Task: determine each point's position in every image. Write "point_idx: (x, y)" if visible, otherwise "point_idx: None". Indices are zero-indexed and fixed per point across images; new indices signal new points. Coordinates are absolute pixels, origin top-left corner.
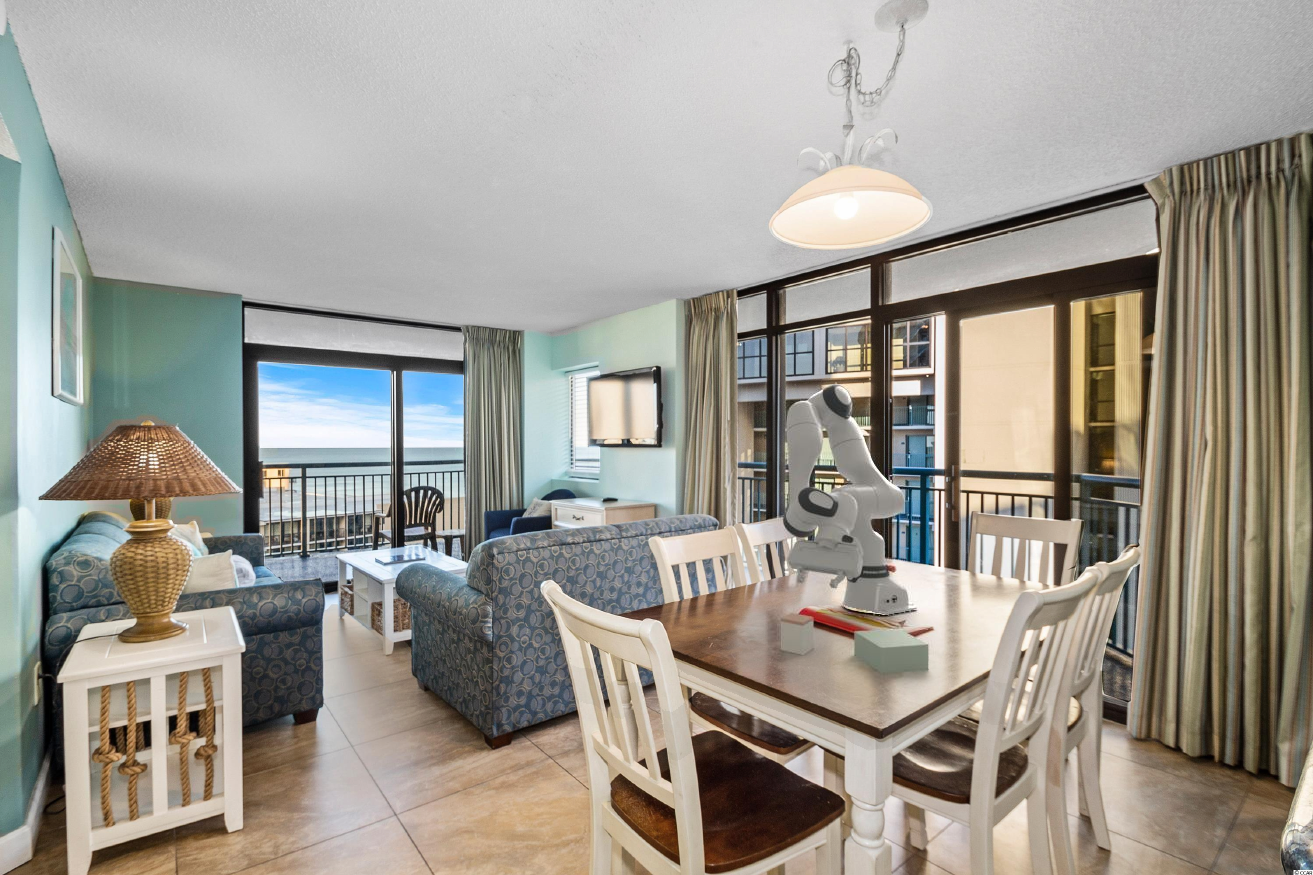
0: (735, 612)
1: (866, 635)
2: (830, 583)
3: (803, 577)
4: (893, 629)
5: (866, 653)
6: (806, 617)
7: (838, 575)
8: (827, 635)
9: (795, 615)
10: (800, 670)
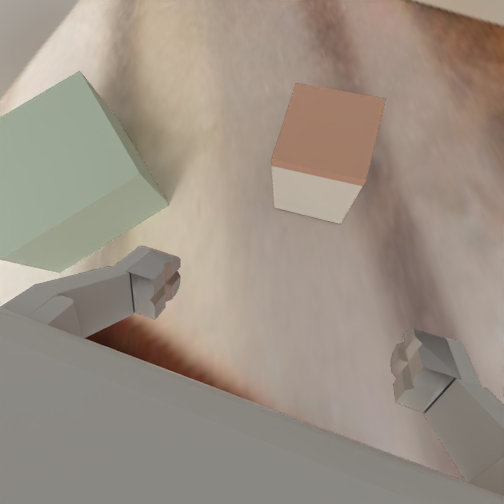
0: None
1: (107, 150)
2: (170, 255)
3: (410, 381)
4: (18, 242)
5: (131, 147)
6: (295, 143)
7: (74, 285)
8: (250, 352)
9: (341, 152)
10: (280, 66)
